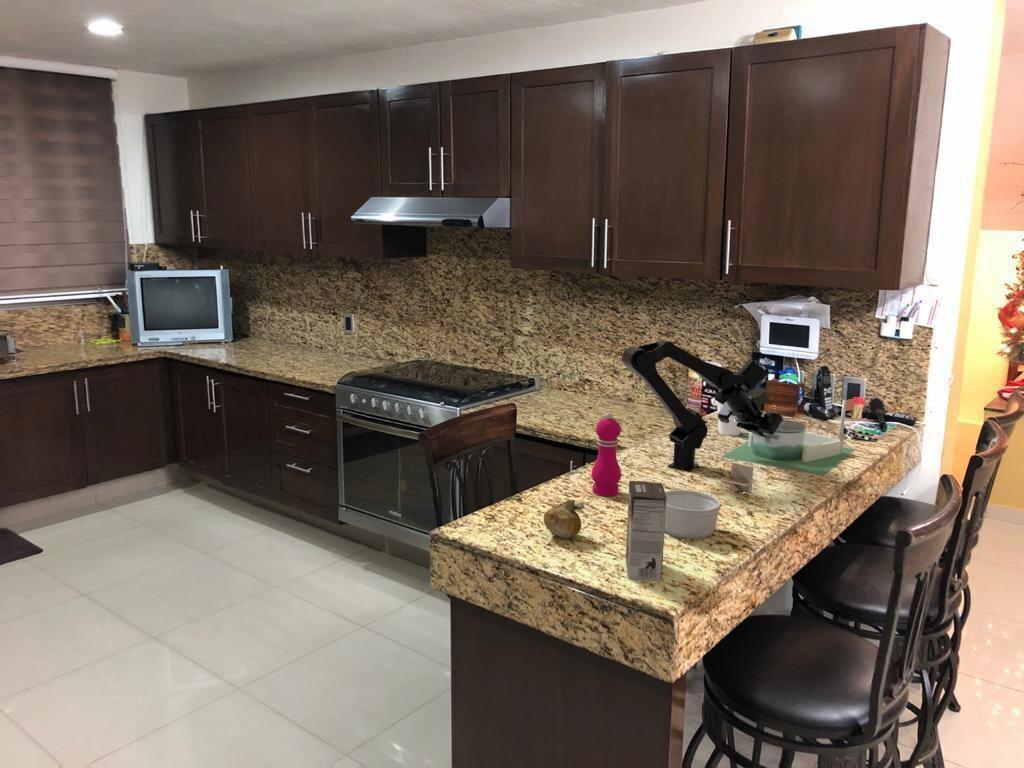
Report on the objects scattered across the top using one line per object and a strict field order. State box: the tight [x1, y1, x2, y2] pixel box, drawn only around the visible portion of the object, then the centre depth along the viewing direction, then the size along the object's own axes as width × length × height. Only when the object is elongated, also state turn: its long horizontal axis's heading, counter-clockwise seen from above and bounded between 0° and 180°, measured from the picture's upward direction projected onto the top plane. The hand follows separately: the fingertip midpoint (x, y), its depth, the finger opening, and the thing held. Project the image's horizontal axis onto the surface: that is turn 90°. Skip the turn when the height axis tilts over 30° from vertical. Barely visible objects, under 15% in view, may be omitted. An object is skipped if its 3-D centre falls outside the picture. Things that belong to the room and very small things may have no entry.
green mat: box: [721, 441, 856, 477], centre depth 233 cm, size 35×28×1 cm
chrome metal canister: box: [752, 418, 807, 461], centre depth 231 cm, size 14×14×9 cm
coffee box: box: [625, 480, 667, 582], centre depth 148 cm, size 9×6×16 cm
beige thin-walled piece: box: [747, 398, 856, 462], centre depth 237 cm, size 22×20×16 cm
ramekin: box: [665, 489, 721, 540], centre depth 170 cm, size 13×13×7 cm
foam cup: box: [716, 401, 742, 437], centre depth 254 cm, size 10×9×13 cm
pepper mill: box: [590, 412, 622, 497], centre depth 192 cm, size 7×7×20 cm
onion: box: [543, 499, 585, 539], centre depth 165 cm, size 8×8×8 cm
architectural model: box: [720, 462, 754, 496], centre depth 196 cm, size 3×7×7 cm, turn 48°
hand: (761, 435), depth 227 cm, fingers closed
